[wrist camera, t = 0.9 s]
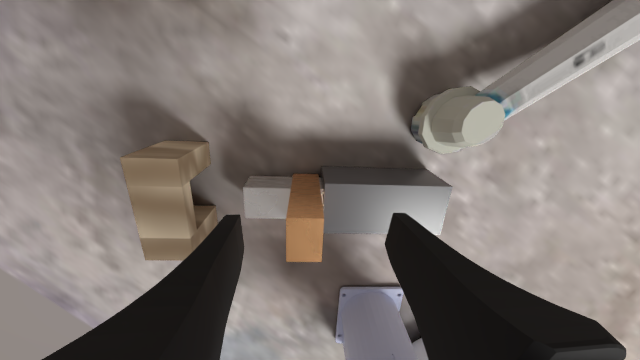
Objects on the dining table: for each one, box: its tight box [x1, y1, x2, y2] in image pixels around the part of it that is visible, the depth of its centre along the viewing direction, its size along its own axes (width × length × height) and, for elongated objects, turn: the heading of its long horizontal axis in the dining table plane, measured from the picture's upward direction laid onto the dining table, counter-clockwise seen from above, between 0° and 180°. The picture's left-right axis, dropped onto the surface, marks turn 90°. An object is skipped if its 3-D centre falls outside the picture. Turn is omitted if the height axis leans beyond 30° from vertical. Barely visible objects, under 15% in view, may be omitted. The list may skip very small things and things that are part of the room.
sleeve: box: [321, 166, 452, 235], centre depth 24 cm, size 5×11×5 cm, turn 87°
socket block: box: [120, 141, 218, 260], centre depth 22 cm, size 9×4×6 cm, turn 177°
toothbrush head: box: [411, 0, 640, 154], centre depth 20 cm, size 5×7×25 cm
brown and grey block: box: [243, 174, 324, 262], centre depth 21 cm, size 4×16×9 cm, turn 87°
